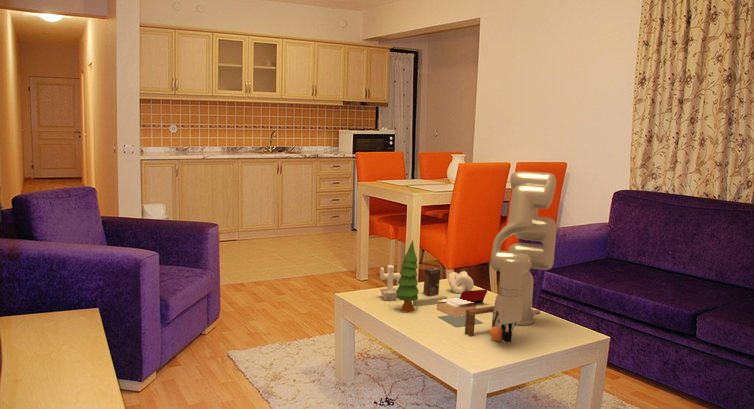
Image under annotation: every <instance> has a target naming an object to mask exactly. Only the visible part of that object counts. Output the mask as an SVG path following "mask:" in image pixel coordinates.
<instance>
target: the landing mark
mask: <svg viewBox="0 0 754 409" xmlns="http://www.w3.org/2000/svg"><path fill="white" fill-rule="evenodd" d="M451 315H452V314H448V315H440V316H437V318H439V319H440V320H442V321H444V322H445V323H448V324H449V325H450V326H452V327H455V328H460V327H465V321H466V315H463V316H458V317H457V316H456V317H454V316H451ZM481 324H484V322H483V321H481V320H480V319H477V318H475V325H481Z"/></svg>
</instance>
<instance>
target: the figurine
mask: <svg viewBox="0 0 754 409" xmlns="http://www.w3.org/2000/svg"><path fill="white" fill-rule="evenodd" d="M394 270H395V266H394V265H392V264H388V265H387V269H386V272H387V273H385V268H384V267H383V266H382V267H381V266H380V268H379V278H380V280H382V281H383V280H384V281H386V288H379V291H380V293H381V295H382V298H383V299H384V300H385V301H396V300H397V299H398V298H397V295H398V293H396V291H397V289H398V288H395V287H394V280H396V285H397V286H399V285H400V284H398V281H399V279H400V277H401V274H400V272H394Z"/></svg>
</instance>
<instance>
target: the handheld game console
mask: <svg viewBox="0 0 754 409" xmlns="http://www.w3.org/2000/svg"><path fill="white" fill-rule="evenodd" d="M487 293H488V289H485V288H484V289H474V290H473V289H472V290H471V291H463V292H462V293H460V297H459V298H460V299H463V300H467V301H471V302H474V303H475V304H474V305H477V304H483V303H484V299H485V297H486V295H487Z"/></svg>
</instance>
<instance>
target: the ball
mask: <svg viewBox="0 0 754 409" xmlns="http://www.w3.org/2000/svg"><path fill="white" fill-rule="evenodd" d="M502 333H503V330H501V328H498V327H496V326H494V327H492V326H491V329H490V331H489V335H490V337H491V338H492V339H493V341H496V342H500V341H503V340H502Z"/></svg>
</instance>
